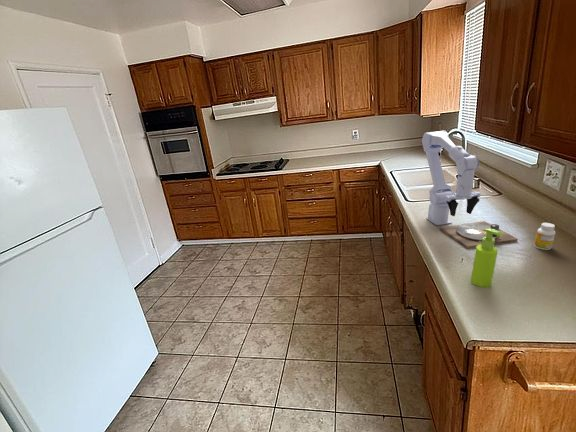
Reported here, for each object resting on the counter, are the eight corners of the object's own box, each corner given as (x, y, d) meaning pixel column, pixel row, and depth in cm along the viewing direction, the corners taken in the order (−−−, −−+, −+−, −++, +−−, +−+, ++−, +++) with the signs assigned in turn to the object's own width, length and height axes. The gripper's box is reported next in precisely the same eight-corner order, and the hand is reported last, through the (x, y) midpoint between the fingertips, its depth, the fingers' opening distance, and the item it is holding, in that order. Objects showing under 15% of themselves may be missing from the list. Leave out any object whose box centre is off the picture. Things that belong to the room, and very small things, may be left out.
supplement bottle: (534, 242, 123) (539, 220, 119) (551, 245, 119) (557, 223, 116) (533, 248, 119) (538, 226, 115) (551, 251, 116) (557, 228, 112)
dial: (448, 232, 135) (450, 221, 132) (468, 221, 142) (469, 211, 140) (486, 244, 122) (489, 232, 120) (506, 232, 129) (508, 221, 127)
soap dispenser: (486, 290, 98) (496, 236, 91) (467, 280, 104) (475, 228, 97) (498, 285, 100) (509, 231, 93) (478, 275, 106) (487, 224, 99)
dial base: (440, 229, 140) (440, 226, 140) (484, 223, 142) (484, 220, 142) (467, 248, 123) (467, 245, 122) (517, 241, 125) (517, 238, 124)
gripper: (454, 189, 123) (450, 220, 128) (487, 185, 124) (482, 215, 129) (444, 184, 129) (440, 213, 134) (475, 180, 130) (471, 209, 136)
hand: (460, 214), depth 132 cm, fingers open, 7 cm apart
